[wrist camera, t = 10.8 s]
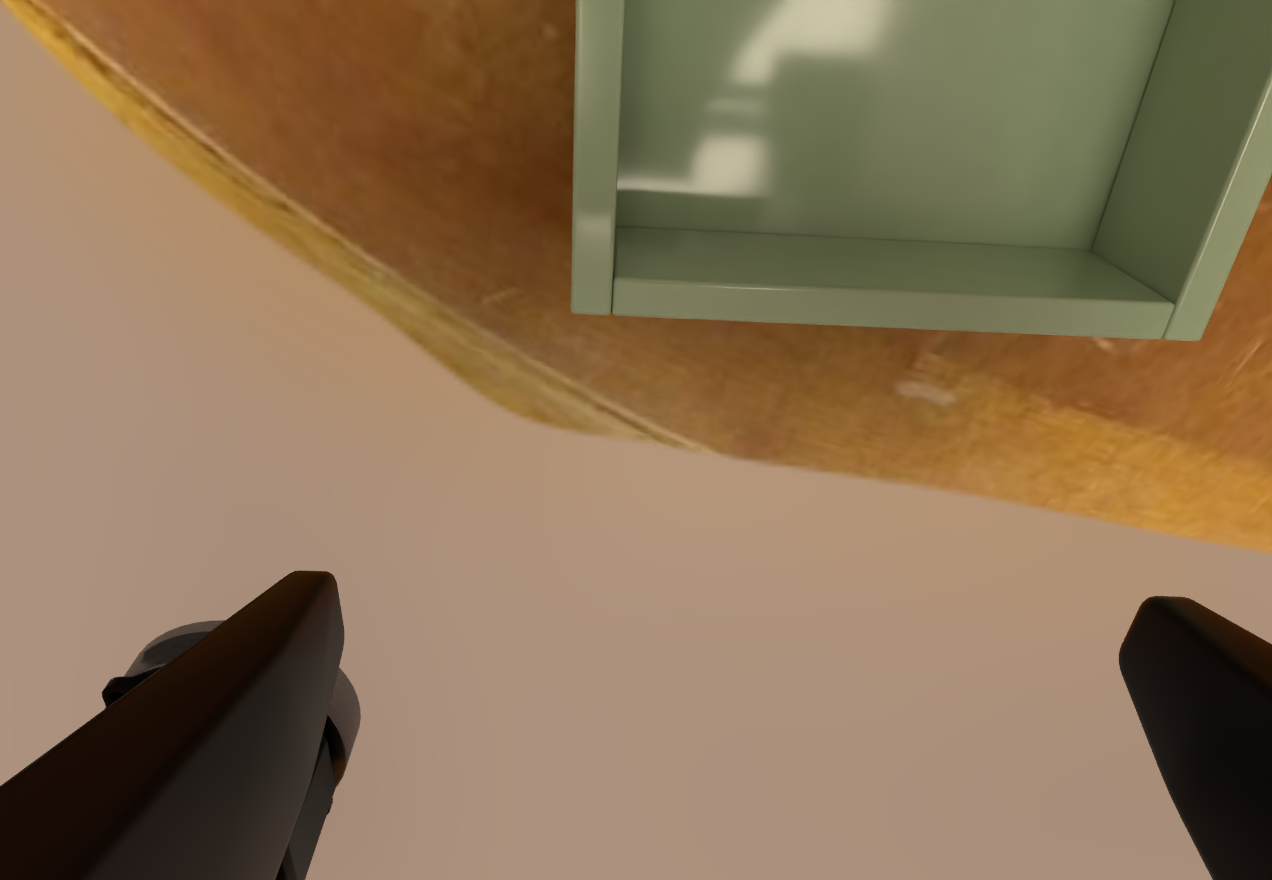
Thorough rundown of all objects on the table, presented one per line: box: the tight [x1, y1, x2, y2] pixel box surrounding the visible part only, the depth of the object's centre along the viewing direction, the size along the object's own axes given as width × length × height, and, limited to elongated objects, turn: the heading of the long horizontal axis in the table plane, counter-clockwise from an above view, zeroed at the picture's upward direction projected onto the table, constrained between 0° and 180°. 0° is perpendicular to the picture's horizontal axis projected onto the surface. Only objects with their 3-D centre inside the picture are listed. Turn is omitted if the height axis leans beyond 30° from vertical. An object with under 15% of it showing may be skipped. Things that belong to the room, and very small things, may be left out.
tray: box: [570, 0, 1272, 341], centre depth 16 cm, size 13×10×4 cm
